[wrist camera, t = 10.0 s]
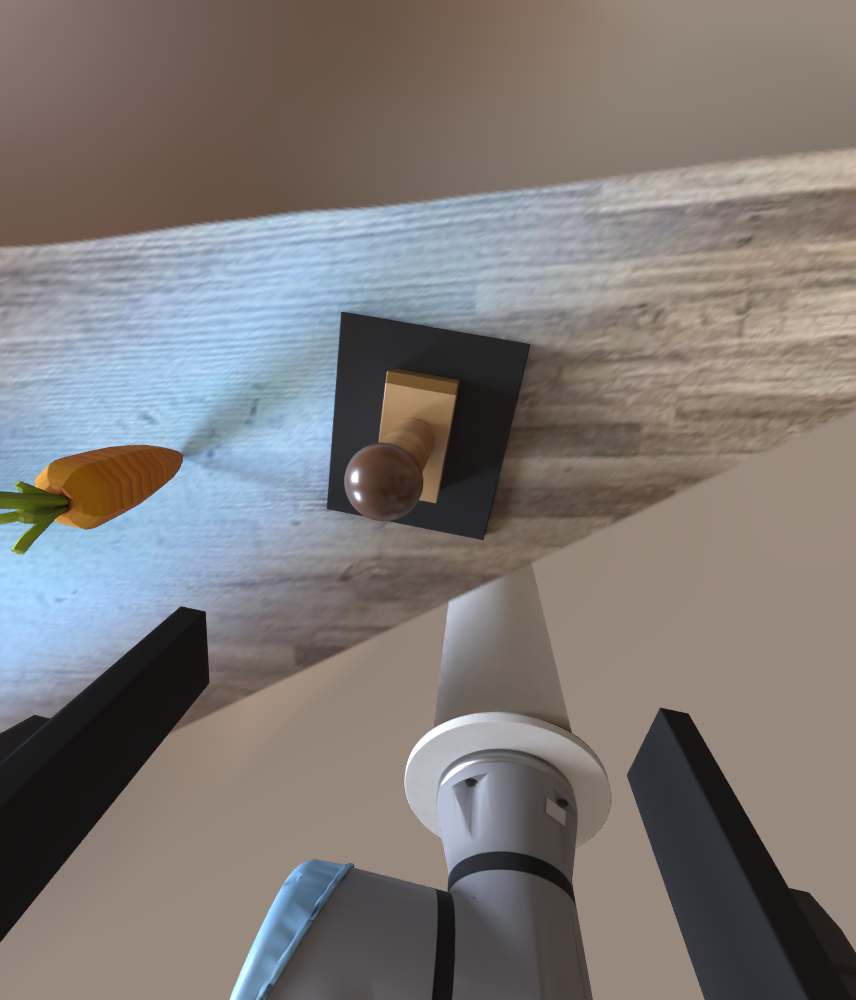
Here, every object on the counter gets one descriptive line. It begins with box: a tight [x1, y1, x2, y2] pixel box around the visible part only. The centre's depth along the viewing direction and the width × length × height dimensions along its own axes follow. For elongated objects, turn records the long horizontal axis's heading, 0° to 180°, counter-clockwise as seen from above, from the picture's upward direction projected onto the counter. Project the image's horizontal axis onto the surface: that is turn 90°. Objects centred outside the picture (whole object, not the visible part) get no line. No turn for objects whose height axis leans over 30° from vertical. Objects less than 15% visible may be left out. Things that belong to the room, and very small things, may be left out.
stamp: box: [344, 369, 460, 521], centre depth 26 cm, size 9×5×14 cm, turn 171°
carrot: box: [0, 445, 183, 555], centre depth 29 cm, size 5×5×15 cm
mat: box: [327, 312, 530, 540], centre depth 33 cm, size 16×14×1 cm
